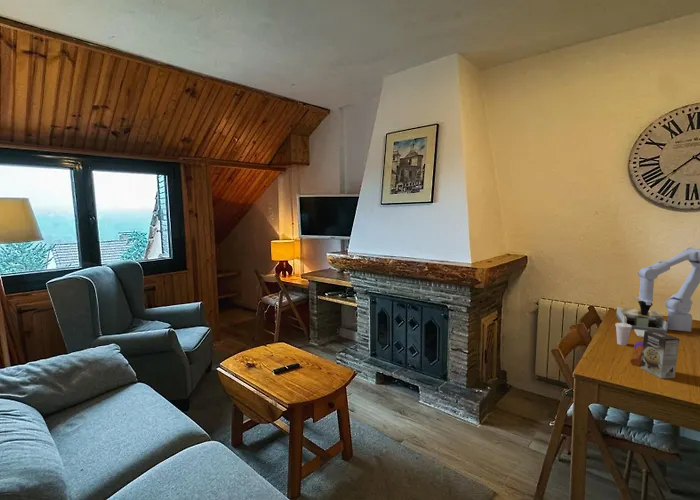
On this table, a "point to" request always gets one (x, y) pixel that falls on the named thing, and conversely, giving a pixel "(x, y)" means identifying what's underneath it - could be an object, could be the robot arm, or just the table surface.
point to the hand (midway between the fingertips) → (644, 314)
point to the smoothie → (623, 332)
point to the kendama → (637, 358)
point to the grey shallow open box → (658, 322)
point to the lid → (638, 313)
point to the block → (641, 321)
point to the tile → (639, 332)
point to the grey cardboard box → (659, 354)
